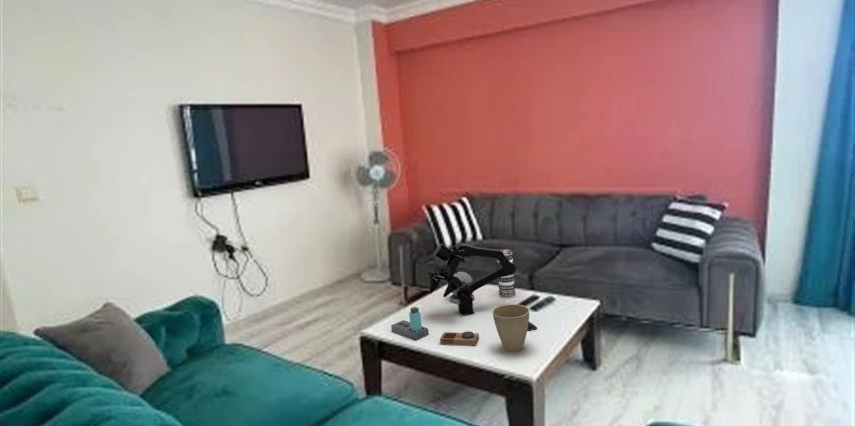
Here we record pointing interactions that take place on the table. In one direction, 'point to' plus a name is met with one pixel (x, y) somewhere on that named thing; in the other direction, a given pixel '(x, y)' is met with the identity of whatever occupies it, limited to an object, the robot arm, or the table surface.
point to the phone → (531, 327)
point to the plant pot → (511, 325)
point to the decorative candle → (507, 280)
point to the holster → (460, 338)
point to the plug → (415, 320)
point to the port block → (408, 330)
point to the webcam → (462, 277)
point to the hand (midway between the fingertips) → (437, 295)
